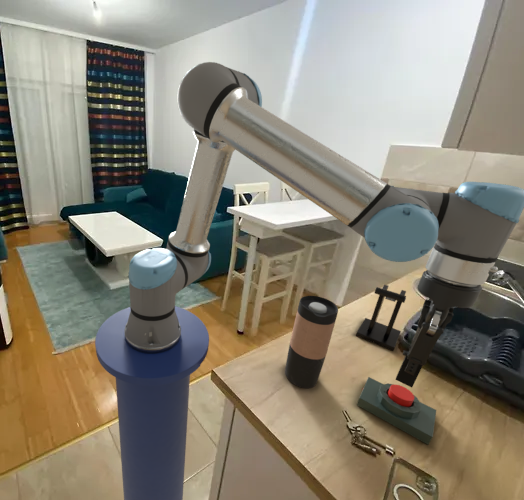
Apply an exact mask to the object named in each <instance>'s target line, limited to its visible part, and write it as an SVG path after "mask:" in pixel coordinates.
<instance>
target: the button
mask: <svg viewBox="0 0 524 500" xmlns="http://www.w3.org/2000/svg"><path fill="white" fill-rule="evenodd" d="M388 396H389V398H390V399H391V400H392V401H393V402H395V403H397V404H399V405H401V406H404V407H410V406H411V405H412V403H413V401H414V396H415V394H414V393H413V392H412V391H411V390H410V389H408V388H406V387H405V386H403V385H400V384H394V385H391V386H390V389H389V391H388Z"/></svg>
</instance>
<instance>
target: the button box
mask: <svg viewBox="0 0 524 500" xmlns="http://www.w3.org/2000/svg"><path fill="white" fill-rule="evenodd" d="M391 385H395V384H394V383H382V382H380V381H378V380H375V379H374V378H372V377H370V376H368V377H367V379H366V382H365V384H364V386H363V388H362V391H361V393H360V395H359V398H358V400H357V403H356V406H357V407H360V408H361V409H363V410H365V411H366V412H369V413H370V414H372V415H374V416H375V417H377V418H378V419H381V420H383V421H385V422H386V423H388V424H390V425H392V426H393V427H395V428H397V429H399V430H401V431H403V432H404V433H406V434H408V435H409V436H411V437H413V438H415V439H417V440H419V441H421V442H422V443H424V444H425V445H430V443H431V442H432V440H433V437H434V431H435V425H436V424H435V422H436V415H437V409H435V408H433V407H431V406H429V405H427V404H426V403H423V402H421V401H420V400H419V399H418V397H417V396H416V395H414V401H413V403H412V405H411V406H410V407H404V406H401V405H399V404H397V403H395V402H393V401H392V400H391V399H390V398H389V396H388V391H389V389H390V386H391Z"/></svg>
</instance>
